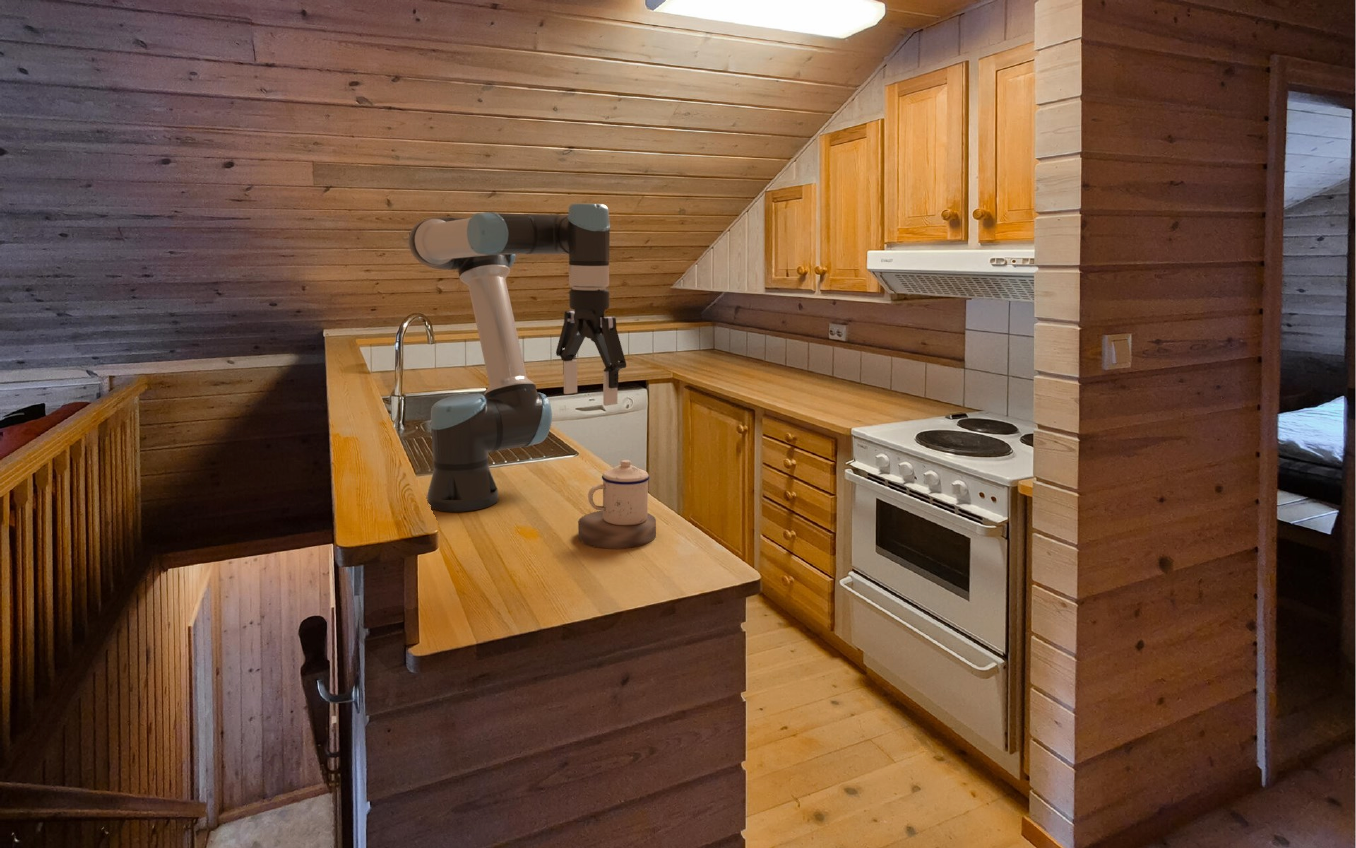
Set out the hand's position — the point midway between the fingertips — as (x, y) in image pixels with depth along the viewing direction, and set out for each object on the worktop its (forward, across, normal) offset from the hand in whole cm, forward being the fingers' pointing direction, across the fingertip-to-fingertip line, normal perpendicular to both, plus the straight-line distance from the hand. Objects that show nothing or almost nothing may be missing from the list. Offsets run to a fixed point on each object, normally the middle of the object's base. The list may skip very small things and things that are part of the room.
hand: (589, 398), depth 165 cm
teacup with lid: (+23, -8, -1) cm, 24 cm away
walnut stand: (+26, -8, -1) cm, 27 cm away
